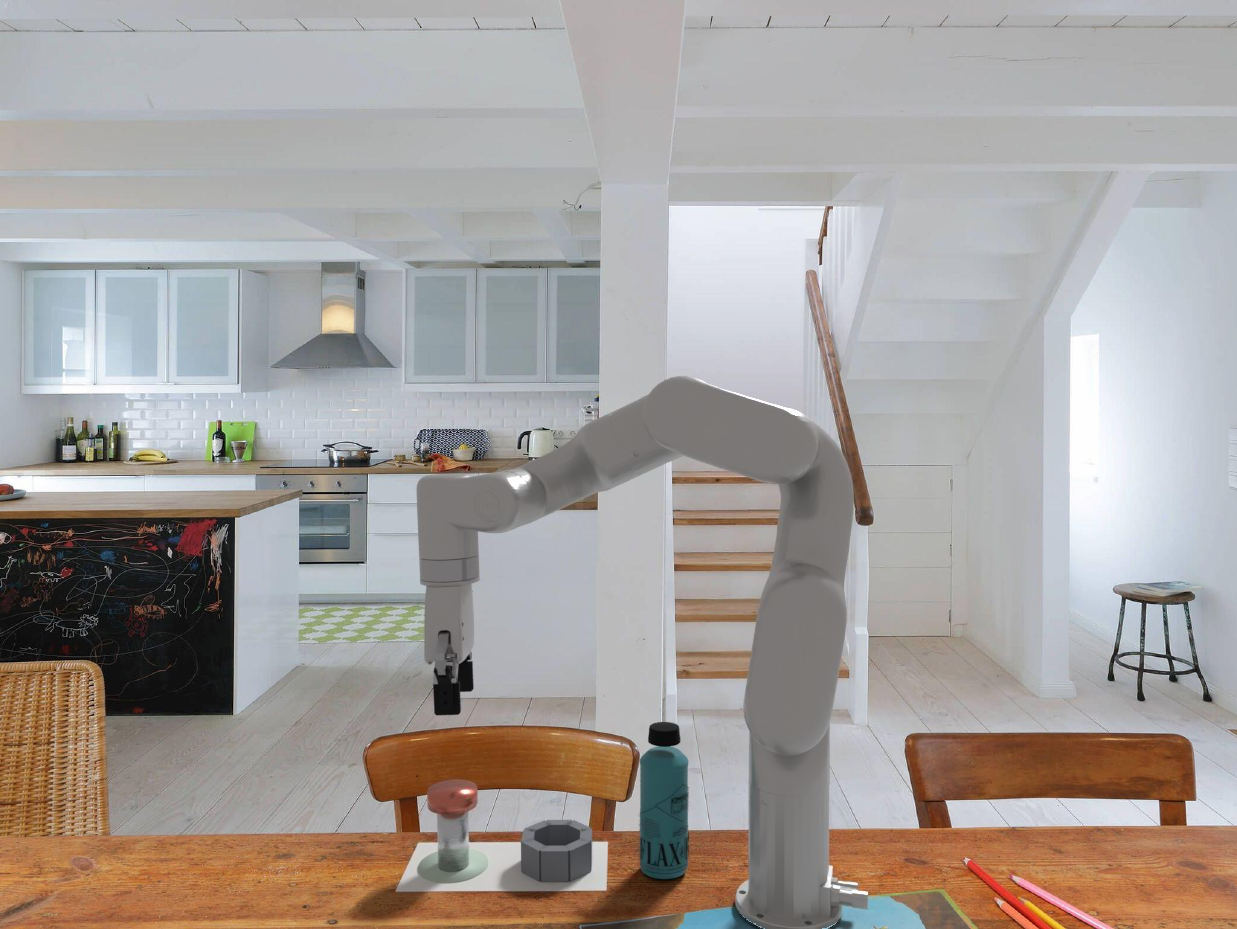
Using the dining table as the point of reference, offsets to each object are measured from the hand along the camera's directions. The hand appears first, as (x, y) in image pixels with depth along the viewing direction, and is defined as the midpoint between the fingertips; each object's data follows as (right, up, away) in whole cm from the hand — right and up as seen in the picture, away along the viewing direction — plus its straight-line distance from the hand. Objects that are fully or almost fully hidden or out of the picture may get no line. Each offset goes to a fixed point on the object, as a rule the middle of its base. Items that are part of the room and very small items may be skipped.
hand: (454, 702), depth 118 cm
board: (+7, -23, +1) cm, 23 cm away
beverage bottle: (+27, -23, 0) cm, 35 cm away
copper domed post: (0, -21, +1) cm, 21 cm away
